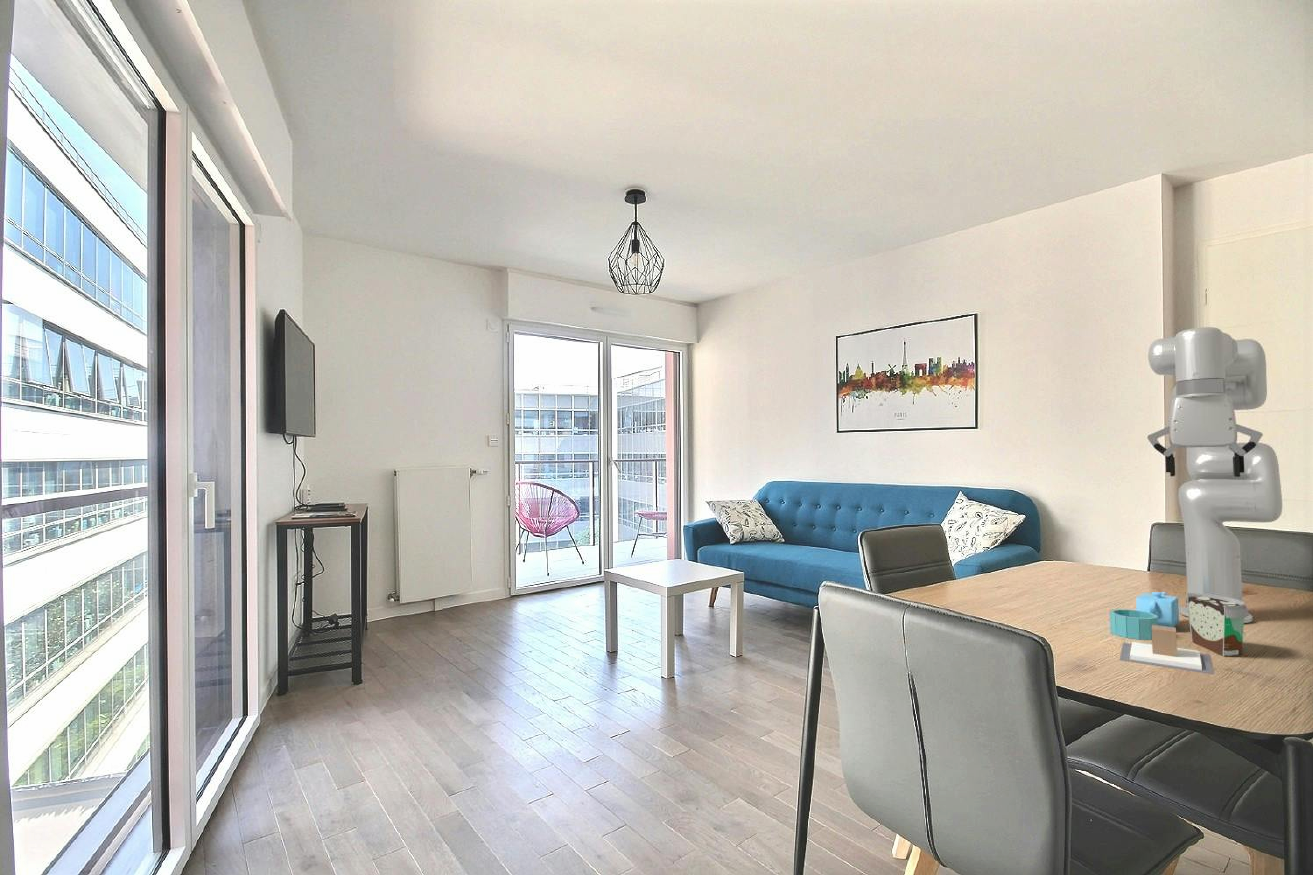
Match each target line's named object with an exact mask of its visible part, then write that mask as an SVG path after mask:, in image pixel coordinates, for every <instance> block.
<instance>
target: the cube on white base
mask: <svg viewBox="0 0 1313 875" xmlns="http://www.w3.org/2000/svg"><path fill="white" fill-rule="evenodd" d="M1151 642H1152V643H1144V642H1137V641H1136V642H1135V641H1131V644H1132V645H1131V651H1130V659H1131V660H1138V661H1145V662H1152V663H1158V664H1165V665H1172V666H1178V667H1185V668H1192V669H1198V670H1202V664H1201V659H1200V650H1195V649H1187V648H1180V647H1178V644H1177V642H1178V641H1177V628H1176V627H1175V628H1174V627H1166V626H1157V625H1152V640H1151Z"/></svg>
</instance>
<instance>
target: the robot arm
mask: <svg viewBox="0 0 1313 875" xmlns="http://www.w3.org/2000/svg"><path fill="white" fill-rule="evenodd" d="M1147 358H1148V359H1147V360H1148V363H1149V366H1150V368H1151V370H1152V371H1153V372H1154V373H1155V374H1156V375H1158V376H1175V386H1174V387H1173V388H1172V392H1171V401H1170V402H1171V403H1170V407H1169V416H1168V417H1169V419H1168V421H1169V422H1168V426H1167V427H1164V428H1162V429H1160V430H1158V431H1155V432H1153V433H1151V434H1148V435H1147V440H1148V442H1149V443H1150V444H1151V445H1152V447H1153V448H1154V449H1155V451H1158V452H1159V453H1160V454H1161V455H1163V456H1164V457H1165V459H1164V460H1165V473H1170V475H1169V476H1170V477H1174V476H1175V477H1176V463H1175V461H1176V460H1175V459H1176V458H1175V456H1174V454H1173V453H1175V452H1176V451H1177V450H1178V449H1179V448H1186V469H1187V470H1186V471H1187V473H1188V475H1189V477H1190V478H1191V479H1192V480H1189V481H1187V482H1184V483H1183V484H1182V485H1180V487H1179V489H1178V491H1177V492H1178V494H1177V495H1178V504H1179V507H1180V512H1181V516H1182V522H1183V529H1184V545H1185V546H1184V547H1185V548H1184V549H1185V566H1186V567H1185V569H1186V571H1185V572H1186V590H1187V591H1186V594H1187V593H1198V594H1209V595H1217V596H1223V597H1228V598H1233V599H1237V600H1240V601H1242V602H1243V587H1242V586H1243V585H1242V563H1241V561H1242V560H1241V543H1240V540H1239V538H1238V537H1237V535H1235V533H1233V532H1232V530H1230V529H1229V528H1228V527H1227V526H1225V524H1224V523H1227V522H1228V523H1229V522H1233V523H1234V522H1237V523H1259V524H1260V523H1272V522H1275V521H1277V520H1278V519H1279V518H1280V517H1281V516H1282V513H1283V512H1282V511H1283V497H1282V496H1283V495H1282V485H1281V484H1282V483H1281V477H1280V476H1281V475H1280V467H1279V466H1280V465H1279V461H1278V460H1279V459H1278V456H1277V453H1276V451H1275V450H1274V449H1273V447H1271V446H1270V445H1269V444H1267V443H1263V442H1259V441H1261V438H1262V437H1263V435H1264V434H1263V432H1260V431H1259V430H1256V429H1252V428H1250V427H1246V426H1244V425H1240V424H1238V423H1237V419H1236V412H1235V411H1243V410H1246V411H1247V410H1256V409H1258V408H1260V407H1262V406H1263V405H1264V404H1265V402H1266V400H1267V396H1268V387H1267V386H1268V382H1267V361H1266V360H1267V359H1266V353H1265V349H1264V348H1263V346H1262V345H1261V343H1260V342H1258V340H1256V339H1252V338H1251V339H1250V338H1244V339H1235V338H1233V337H1232V336H1231V335H1230V334H1229V333H1226V332H1223V331H1222V330H1221V328H1218V327H1212V326H1203V327H1201V326H1200V327H1194V328H1193V327H1192V328H1188V329H1184V330H1181V331H1179V332H1177V333H1176V335H1175V336H1172V337H1166V338H1165V337H1164V338H1163V337H1162V338H1158V339H1156V340H1154V341H1152V343H1150V346H1149V349H1148V357H1147ZM1238 433H1240V434H1243V435H1245V436H1248V437H1249V438H1250V439H1249V440H1248V442H1237V441H1238ZM1166 435H1168V436H1169V438H1168V439H1169V444H1170V445H1169V447H1168V448H1166V447H1164V446H1163V445H1162V444H1161V443H1160V442H1159V438H1162V437H1163V436H1166ZM1179 614H1181V615H1183V616H1186V617H1188V618H1189V613H1188V605H1183V606H1182V605H1181V606H1180V607H1179ZM1252 622H1253V615H1252V614H1251V613H1249V616H1247V617H1244V624H1248V623H1252Z"/></svg>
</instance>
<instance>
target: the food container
mask: <svg viewBox="0 0 1313 875" xmlns="http://www.w3.org/2000/svg"><path fill="white" fill-rule="evenodd" d="M1185 604H1187V606H1188V613H1189V617H1188V622H1189V628H1190V629H1189V631H1190V641H1191V642H1192V643H1194V644H1195V645H1197V646H1200V647H1202V648H1204V649H1207V650H1209V651H1210V652H1212V653H1215V654H1217V655H1219V656H1222V658H1233V657H1240V656H1242V654H1243V639H1244V638H1243V637H1244V624H1245V623H1244V617H1247V616H1249V614H1250V613H1249V611H1248V607H1247V606H1246V605H1245V601H1243V600H1242V601H1240V600H1237V599H1233V598H1228V597H1223V596H1217V595H1209V594H1198V593H1187V592H1186V595H1185Z"/></svg>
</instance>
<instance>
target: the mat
mask: <svg viewBox="0 0 1313 875" xmlns="http://www.w3.org/2000/svg"><path fill="white" fill-rule="evenodd" d="M1131 645H1132V643H1128V642H1123V643H1122V646H1121V651H1120V656H1119V661H1123V662H1130V663H1134V664H1135V663H1137V664H1142V665H1143V664H1144V665H1149V666H1155V667H1162V668H1168V669H1176V670H1182V671H1189V672H1194V673H1195V672H1196V673H1202V674H1209V675H1215V674H1214V673H1215V672H1214V669H1213V663H1212V658H1211V655H1210V654H1208V653H1200V652H1199V653H1200V659H1201V664H1202V670H1198V669H1192V668H1185V667H1178V666H1172V665H1165V664H1158V663H1152V662H1145V661H1138V660H1131V659H1130V651H1131Z"/></svg>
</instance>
